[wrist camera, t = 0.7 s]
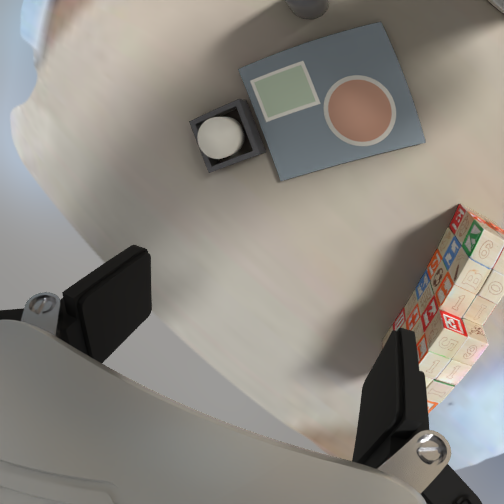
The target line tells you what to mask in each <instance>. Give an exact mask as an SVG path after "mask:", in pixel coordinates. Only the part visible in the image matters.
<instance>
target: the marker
mask: <svg viewBox="0 0 504 504" xmlns="http://www.w3.org/2000/svg"><path fill="white" fill-rule="evenodd" d="M285 2H286V3H287V4H288V6H289V7H290V9H291V10H292V11H293V13H294V14H296V15H297V16H299V17H301V18H305V19H314V18H317V17H320V16H321V15H323V14H324V13H325V12H326V10H327V8H328V0H285Z"/></svg>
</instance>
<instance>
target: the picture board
mask: <svg viewBox="0 0 504 504" xmlns="http://www.w3.org/2000/svg"><path fill="white" fill-rule="evenodd" d="M238 70H239V73H240V75H241V78H242V80H243V83H244V85H245V88H246V90H247V93H248V95H249V98H250V100H251V103H252V105H253V108H254V110H255V113H256V116H257V118H258V121H259V123H260V126H261V129H262V131H263V134H264V137H265V139H266V142H267V145H268V147H269V150H270V153H271V156H272V158H273V161H274V164H275V167H276V169H277V172H278V175H279V178H280V180H281V181H284V180H287V179H290V178H294V177H297V176H300V175H304V174H307V173H311V172H314V171H317V170H321V169H324V168H328V167H332V166H335V165H339V164H342V163H346V162H350V161H353V160H357V159H361V158H365V157H369V156H372V155H376V154H380V153H384V152H388V151H392V150H396V149H400V148H404V147H408V146H413V145H417V144H421V143H425V142H426V141H425V138H424V134H423V131H422V127H421V124H420V121H419V118H418V114H417V111H416V108H415V105H414V102H413V99H412V96H411V93H410V91H409V88H408V85H407V82H406V80H405V77H404V74H403V72H402V69H401V67H400V64H399V62H398V59H397V57H396V54H395V52H394V50H393V47H392V45H391V43H390V40H389V38H388V36H387V34H386V31H385V29H384V27H383V25H382V23H381V22H378V23H373V24H369V25H365V26H361V27H357V28H354V29H350V30H346V31H343V32H339V33H336V34H332V35H329V36H326V37H323V38H319V39H316V40H313V41H310V42H307V43H304V44H301V45H298V46H296V47H293V48H290V49H287V50H285V51H282V52H279V53H277V54H274V55H271V56H269V57H266V58H264V59H261V60H259V61H256V62H254V63H252V64H249V65H247V66H245V67H242V68H240V69H238Z"/></svg>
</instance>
